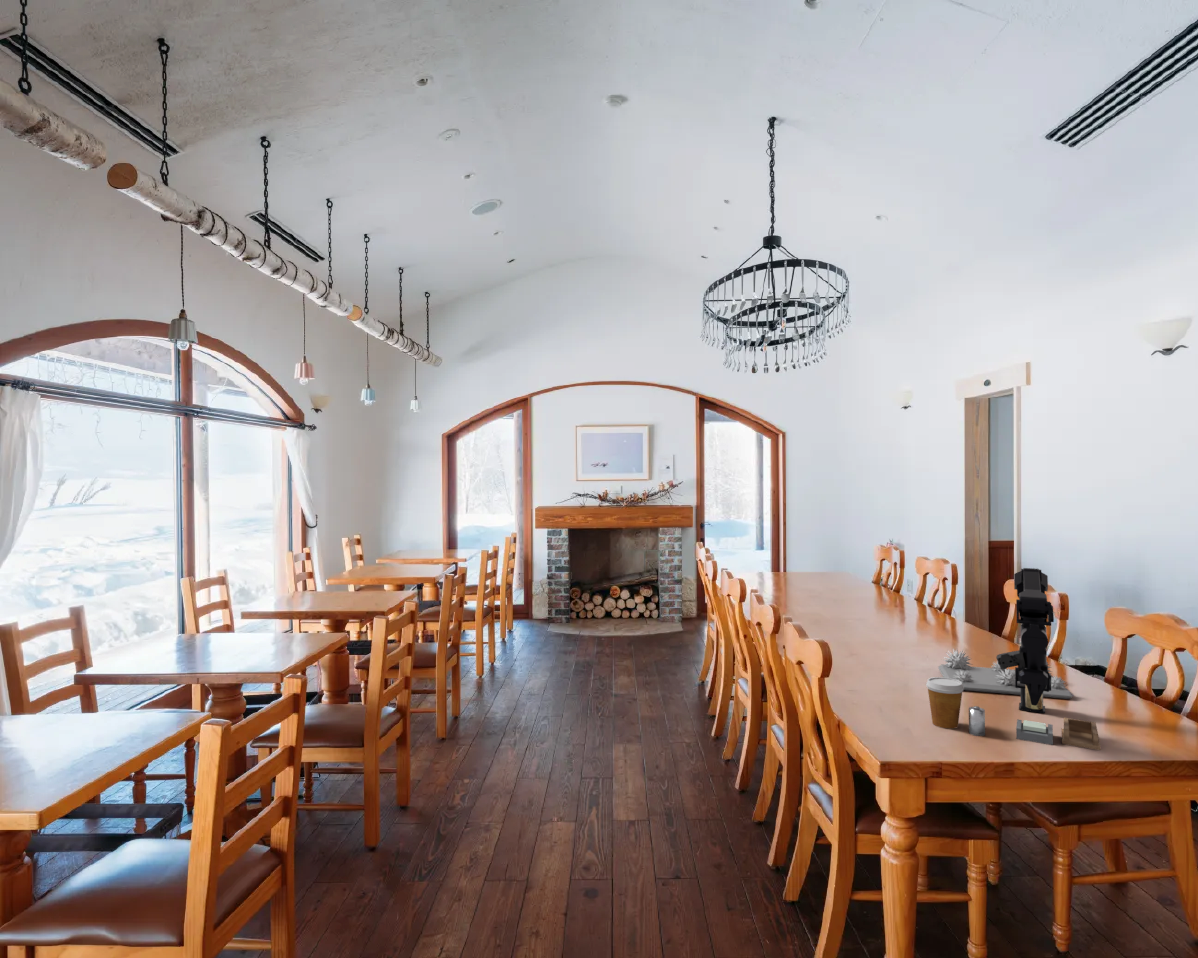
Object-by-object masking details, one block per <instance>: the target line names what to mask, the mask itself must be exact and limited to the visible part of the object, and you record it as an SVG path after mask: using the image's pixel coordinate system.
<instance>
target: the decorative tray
mask: <svg viewBox="0 0 1198 958" xmlns="http://www.w3.org/2000/svg"><path fill="white" fill-rule="evenodd" d="M952 652H953V653H952ZM952 652H951V651H949V650H947V652H945V653H946V655H947V656H948V657H946V656H943V661H944V662H945V664H940V665H939V666H937V668H938V671H939V672H940V674H941V675H942V676H941V677H944V678H951V679H955V680H958V681H960V682H962V685H963V687H964V690H963V691H969V692H980V693H981V692H982V693H994V694H1006V695H1016V696H1017V695H1019V696H1021V694H1020V688H1015V669H1010V667H1008V668H1006V669H1001V668H1000V666H999V664H998V661H993V662H992V664H993V665H991V666H990V667H983V666H982V667H981V666H971V665H974V664H972V663H971V662H970V660H971V657H970V656H969V655H966V653H965V652H966V651H964V650H960V652H959V651H958V649H956V650H955V649H954V648H952ZM1050 668H1052V666H1050V664H1049V663H1048V671H1049V674H1050V675H1051V691H1049V692H1047V691H1043V698H1051V699H1052V698H1054V699H1066V700H1070V699H1072V698H1073V697H1074V696H1075V695H1074V693H1072V692H1071V691H1070V690H1069V689H1068V687H1067V685H1065V684H1066V680H1065V679H1064V677H1062V676H1058V675H1052V673H1053V671H1052V670H1050ZM1017 682H1019V681H1017Z"/></svg>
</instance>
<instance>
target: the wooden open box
mask: <svg viewBox="0 0 1198 958" xmlns="http://www.w3.org/2000/svg"><path fill="white" fill-rule="evenodd" d="M1061 744H1062V745H1067V746H1073V747H1078V748H1084V749H1085V748H1086V749H1092V750H1095V751H1096V750H1098V751H1101V749H1102V747H1101V741H1100V737H1099V732H1098V728H1097V723H1096V722H1095V721H1089V720H1083V719H1075V718H1070V717H1063V728H1061Z"/></svg>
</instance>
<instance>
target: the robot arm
mask: <svg viewBox="0 0 1198 958" xmlns="http://www.w3.org/2000/svg"><path fill="white" fill-rule="evenodd" d="M1013 577H1014V578H1013V579H1014V580H1013V581H1014V582H1013V588H1014V590H1016V595H1017V598H1018V599H1016V608H1015V609H1016V623H1017V624H1020V645H1019V650H1014V651H1013V650H1012V651H1009V652H1003V653H999V654H996V662H998V664H999V666H1000V668H1001V669H1006V668H1007V669H1008V668H1012V667H1015V668H1014V670H1015V688H1020V694H1021V695H1020V702H1019V703H1018V710H1020V711H1024V712H1025V711H1027V712H1033V713H1040V714H1045V713H1046V706H1045V705H1043V709H1031V708H1028V707H1026V700H1025V685H1026V686H1027V688H1028V692H1029V696H1030V700H1031V704H1032V705H1034V706H1036V705H1037V704H1038V702H1039V700H1040V697H1041V695H1042V700H1043V701H1044V697H1043V691H1047V692H1049V691H1051V675H1052V674H1051V675H1050V674H1049V673H1050V672H1049V671H1050V670H1049V668H1048V666H1049V665H1048V664H1049V662H1048V661H1047V655H1048V654H1047V647H1048V644H1049V639H1048V635H1047V627H1048V626H1049V627H1051V626H1052V623H1054V622H1055V617H1054V606H1053V604H1052V602H1051V601H1049V600H1048V595H1047V594H1046V592H1048V590H1049V578H1048V575H1047V574H1045V573H1043V572H1042V569H1039V568H1034V567H1033V568H1032V567H1031V568H1028V567H1023V568H1021V569H1020V571H1018V572H1015V573H1014V574H1013ZM1046 626H1047V627H1046ZM1048 670H1049V671H1048ZM1017 681H1019V682H1017Z"/></svg>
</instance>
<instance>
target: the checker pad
mask: <svg viewBox="0 0 1198 958" xmlns="http://www.w3.org/2000/svg"><path fill="white" fill-rule="evenodd" d="M1022 723H1023V729H1024V730H1030V731H1037V732H1043V733H1046V727H1047V724H1046V723H1045V722H1038V721H1034V720H1033V721H1032V720H1026V719H1024V720H1023V721H1022Z"/></svg>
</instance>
